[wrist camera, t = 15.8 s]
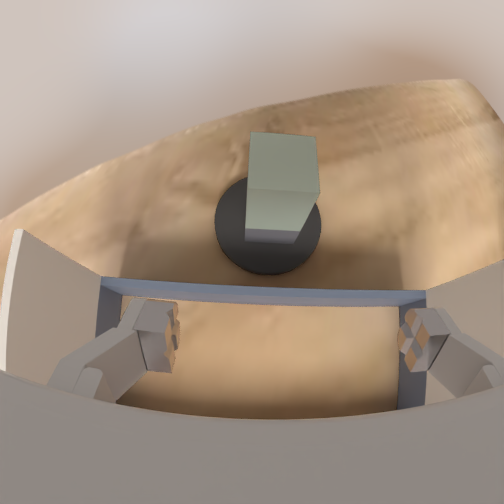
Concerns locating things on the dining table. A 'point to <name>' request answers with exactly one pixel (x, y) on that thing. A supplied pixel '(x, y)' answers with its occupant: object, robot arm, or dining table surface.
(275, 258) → the coaster
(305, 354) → the dining table surface
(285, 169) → the box
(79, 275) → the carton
